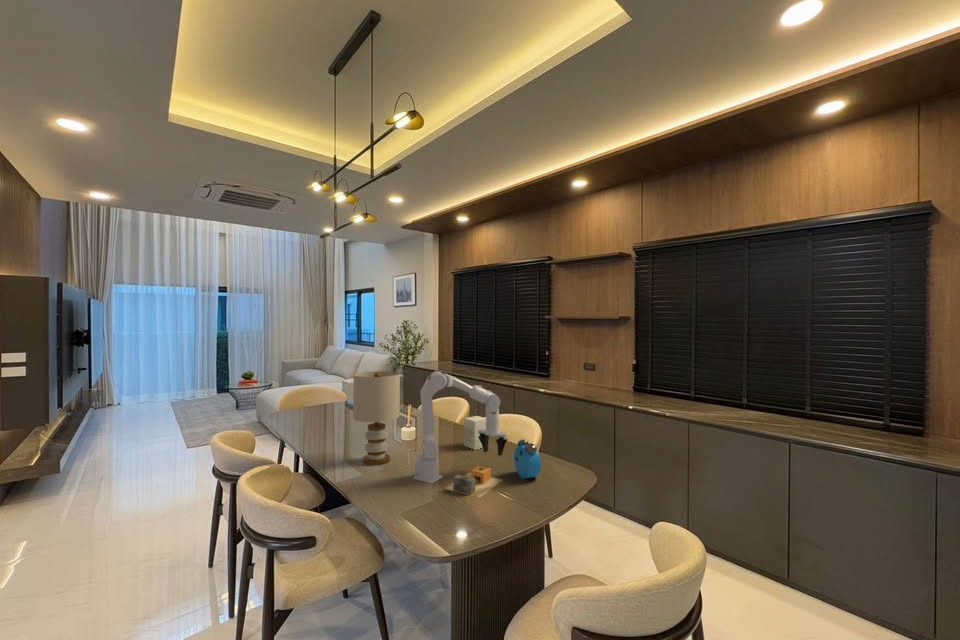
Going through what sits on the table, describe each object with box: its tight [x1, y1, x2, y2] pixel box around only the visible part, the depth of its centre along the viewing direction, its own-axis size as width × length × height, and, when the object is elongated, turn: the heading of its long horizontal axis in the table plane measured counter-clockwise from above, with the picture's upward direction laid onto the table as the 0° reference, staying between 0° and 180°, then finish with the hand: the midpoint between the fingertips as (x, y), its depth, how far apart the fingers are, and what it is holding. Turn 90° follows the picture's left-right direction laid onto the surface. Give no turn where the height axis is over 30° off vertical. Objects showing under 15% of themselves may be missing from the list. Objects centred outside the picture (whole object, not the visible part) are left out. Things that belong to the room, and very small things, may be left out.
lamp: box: [352, 370, 401, 466], centre depth 182 cm, size 21×21×41 cm
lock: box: [470, 465, 492, 483], centre depth 161 cm, size 6×6×5 cm
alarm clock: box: [513, 438, 542, 480], centre depth 164 cm, size 13×6×15 cm, turn 23°
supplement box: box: [463, 415, 486, 451], centre depth 204 cm, size 9×9×15 cm
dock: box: [443, 471, 503, 499], centre depth 156 cm, size 16×19×5 cm
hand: (493, 453), depth 168 cm, fingers open, 7 cm apart
